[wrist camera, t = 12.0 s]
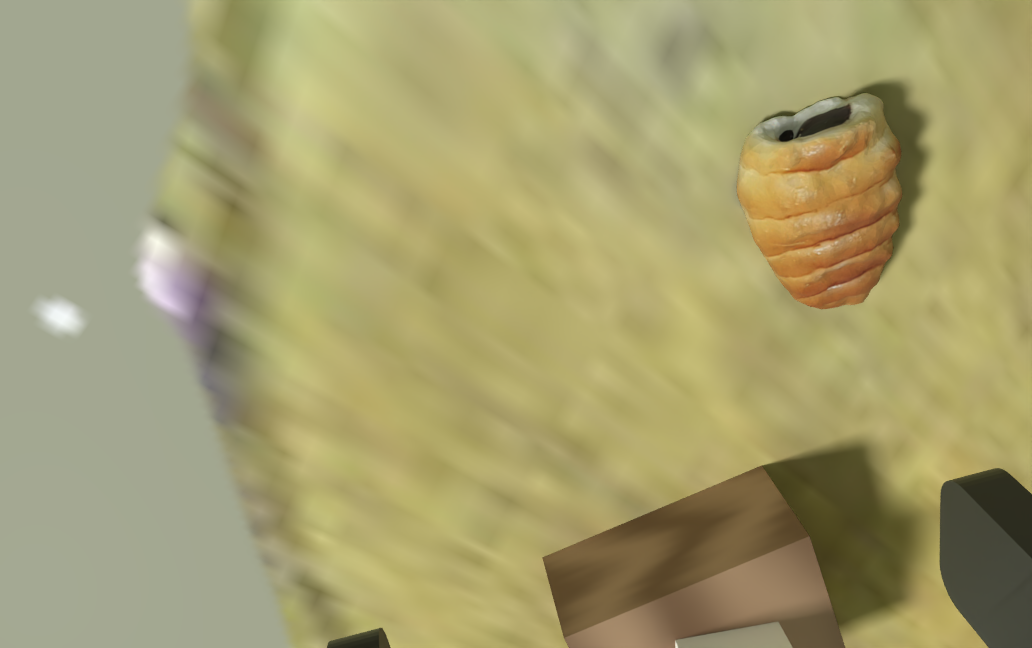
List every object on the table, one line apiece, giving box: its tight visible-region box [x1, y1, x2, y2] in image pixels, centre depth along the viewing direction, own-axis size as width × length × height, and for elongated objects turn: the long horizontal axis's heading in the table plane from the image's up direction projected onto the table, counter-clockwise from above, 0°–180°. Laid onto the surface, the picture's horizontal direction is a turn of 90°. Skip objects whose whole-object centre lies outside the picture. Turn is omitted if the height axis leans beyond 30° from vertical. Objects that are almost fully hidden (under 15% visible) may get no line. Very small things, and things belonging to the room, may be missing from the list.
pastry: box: [737, 93, 902, 309], centre depth 41 cm, size 9×7×4 cm
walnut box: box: [543, 466, 845, 648], centre depth 48 cm, size 12×12×6 cm
